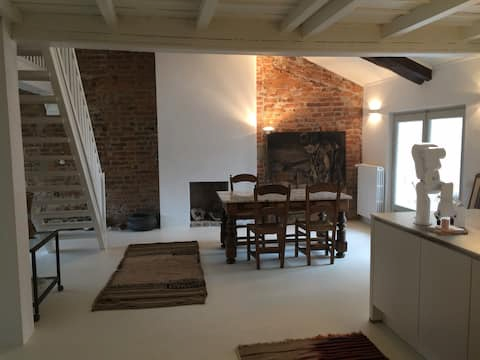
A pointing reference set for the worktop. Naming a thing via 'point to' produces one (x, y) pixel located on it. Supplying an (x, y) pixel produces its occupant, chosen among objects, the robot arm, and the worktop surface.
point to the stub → (445, 226)
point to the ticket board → (440, 232)
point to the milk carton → (459, 214)
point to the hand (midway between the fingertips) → (445, 225)
